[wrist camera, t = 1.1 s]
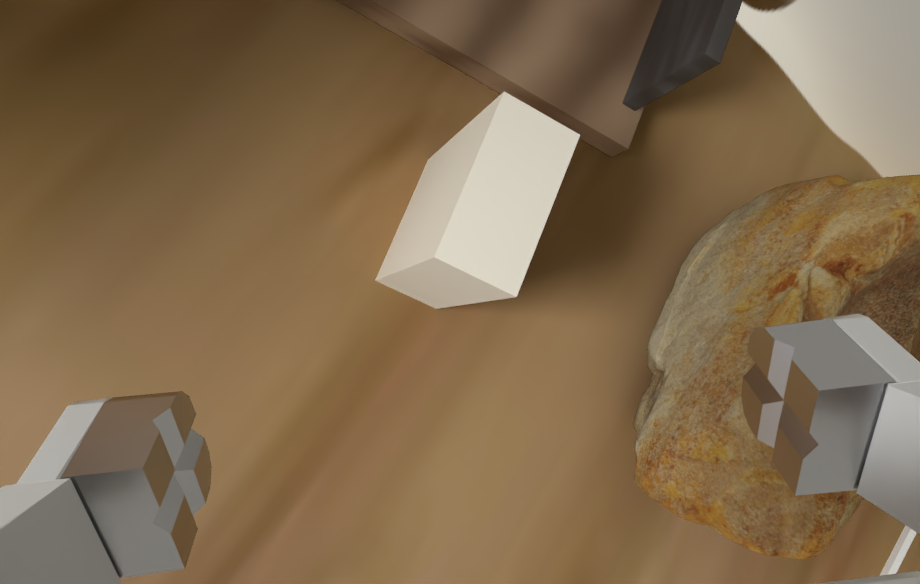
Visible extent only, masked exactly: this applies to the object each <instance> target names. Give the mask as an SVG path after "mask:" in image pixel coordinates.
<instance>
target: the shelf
mask: <svg viewBox="0 0 920 584" xmlns="http://www.w3.org/2000/svg"><path fill="white" fill-rule="evenodd" d="M337 1H339V2H341V3H342V4H344V5H346V6H348V7H349V8H351V9H353V10H355V11H356V12H358V13H360V14H362V15H363V16H365V17H367V18H369V19H370V20H372V21H374V22H376V23H377V24H379V25H381V26H383V27H384V28H386V29H388V30H390V31H391V32H393V33H395V34H397V35H398V36H400V37H402V38H404V39H405V40H407V41H409V42H411V43H412V44H414V45H416V46H418V47H419V48H421V49H423V50H425V51H426V52H428V53H430V54H432V55H433V56H435V57H437V58H439V59H441V60H442V61H444V62H446V63H448V64H449V65H451V66H453V67H455V68H456V69H458V70H460V71H462V72H463V73H465V74H467V75H469V76H470V77H472V78H474V79H476V80H477V81H479V82H481V83H483V84H484V85H486V86H488V87H490V88H491V89H493V90H495V91H497V92H498V93H500V94H502V93H503V92H506V93H508V94H510V95H511V96H513V97H515V98H517V99H518V100H520V101H522V102H524V103H525V104H527V105H529V106H531V107H532V108H534V109H536V110H538V111H539V112H541V113H543V114H545V115H546V116H548V117H550V118H552V119H553V120H555V121H557V122H559V123H560V124H562V125H564V126H566V127H567V128H569V129H571V130H573V131H574V132H576V133H578V134H580V137H579V139H581V140H583V141H584V142H586V143H588V144H590V145H591V146H593V147H595V148H597V149H598V150H600V151H602V152H604V153H605V154H607V155H609V156H611V157H613V156H615V155H617V154H619V153H621V152H624V151H626V150H628V149H629V146H630V144H631V141H632V138H633V136H634V133H635V130H636V128H637V125H638V122H639V120H640V117H641V114H642V112H643V109H644V106H645V105H647V104H649V103H650V102H652V101H654V100H656V99H657V98H659V97H661V96H663V95H665V94H666V93H668V92H670V91H672V90H674V89H675V88H677V87H679V86H681V85H682V84H684V83H686V82H688V81H690V80H691V79H693V78H695V77H697V76H698V75H700V74H702V73H704V72H706V71H707V70H709V69H711V68H713V67H714V66H716V65H718V64H720V62H721V59H722V57H723V54H724V51H725V48H726V45H727V43H728V40H729V37H730V34H731V31H732V29H733V26H734V23H735V20H736V17H737V15H738V11H739V9H740V6H741V3H742V1H743V0H337Z"/></svg>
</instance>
